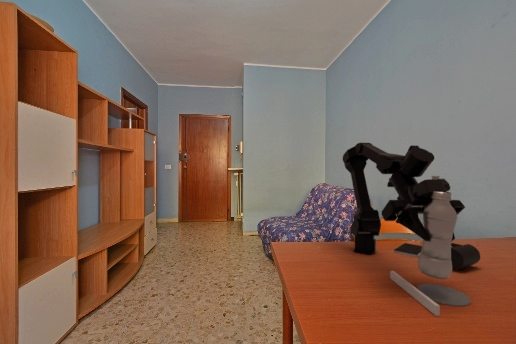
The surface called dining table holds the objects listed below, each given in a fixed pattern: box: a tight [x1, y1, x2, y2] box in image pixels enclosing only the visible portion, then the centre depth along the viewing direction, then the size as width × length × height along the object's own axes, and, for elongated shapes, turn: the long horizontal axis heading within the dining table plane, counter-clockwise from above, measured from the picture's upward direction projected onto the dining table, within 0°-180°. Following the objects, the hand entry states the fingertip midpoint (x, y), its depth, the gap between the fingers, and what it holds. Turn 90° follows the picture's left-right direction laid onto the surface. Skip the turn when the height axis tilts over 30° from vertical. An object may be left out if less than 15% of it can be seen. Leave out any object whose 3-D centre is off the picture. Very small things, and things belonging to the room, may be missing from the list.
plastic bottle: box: [417, 191, 458, 280], centre depth 57 cm, size 6×7×20 cm
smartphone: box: [393, 242, 422, 258], centre depth 93 cm, size 8×1×15 cm
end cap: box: [451, 242, 481, 271], centre depth 76 cm, size 10×7×7 cm
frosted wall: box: [389, 270, 441, 317], centre depth 58 cm, size 18×1×2 cm, turn 178°
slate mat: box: [416, 283, 472, 307], centre depth 58 cm, size 10×10×1 cm
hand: (440, 240), depth 57 cm, fingers closed on plastic bottle, 6 cm apart
